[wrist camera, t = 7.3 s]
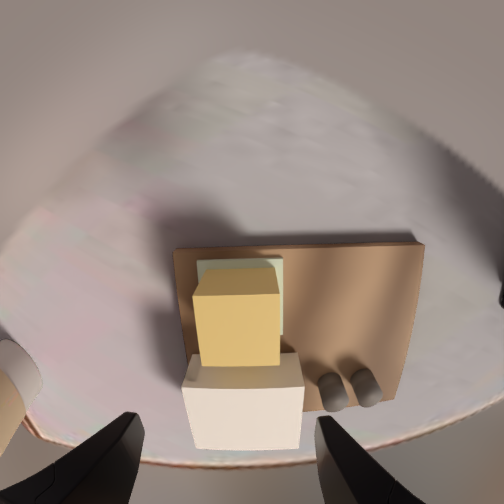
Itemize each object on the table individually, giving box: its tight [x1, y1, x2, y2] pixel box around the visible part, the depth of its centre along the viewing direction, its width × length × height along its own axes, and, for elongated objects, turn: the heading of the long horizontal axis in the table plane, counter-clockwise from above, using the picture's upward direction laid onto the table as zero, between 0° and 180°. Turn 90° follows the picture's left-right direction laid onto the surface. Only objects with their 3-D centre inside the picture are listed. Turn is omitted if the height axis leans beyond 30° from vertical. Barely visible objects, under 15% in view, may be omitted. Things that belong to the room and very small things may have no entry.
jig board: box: [173, 242, 425, 412], centre depth 18 cm, size 16×13×3 cm
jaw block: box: [192, 267, 280, 367], centre depth 16 cm, size 4×4×4 cm
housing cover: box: [181, 353, 305, 450], centre depth 18 cm, size 7×6×4 cm
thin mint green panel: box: [197, 257, 283, 335], centre depth 18 cm, size 5×5×1 cm
